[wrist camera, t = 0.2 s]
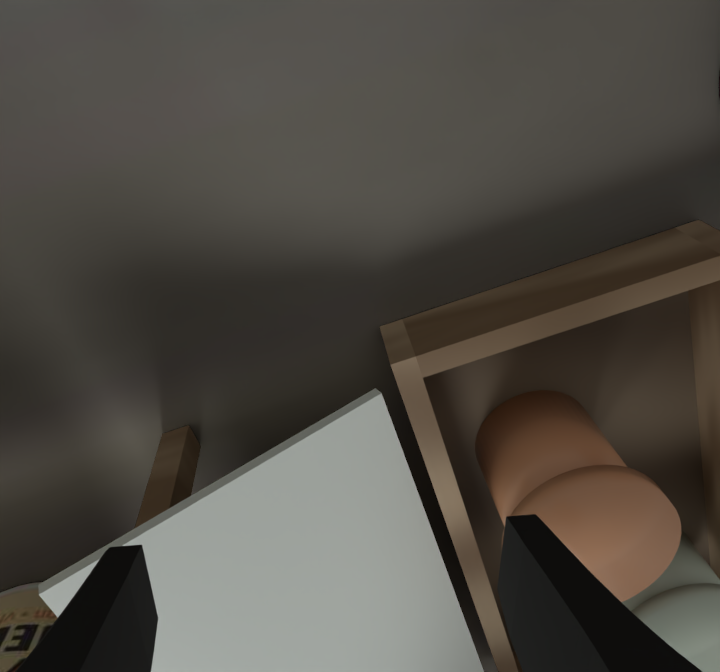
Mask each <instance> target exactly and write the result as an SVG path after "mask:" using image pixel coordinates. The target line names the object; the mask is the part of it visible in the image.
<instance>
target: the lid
mask: <svg viewBox="0 0 720 672" xmlns="http://www.w3.org/2000/svg"><path fill="white" fill-rule="evenodd" d="M130 545H142V547H143V551H144V556H145V560H146V565H147V570H148V574H149V579H150V583H151V588H152V592H153V597H154V601H155V606H156V611H157V615H158V624H157V631H156V639H155V647H154V654H153V661H152V668H151V672H484V670H483V668H482V665H481V662H480V659H479V657H478V654H477V651H476V649H475V646H474V643H473V640H472V638H471V635H470V632H469V629H468V627H467V624H466V621H465V619H464V616H463V613H462V610H461V608H460V605H459V602H458V600H457V597H456V594H455V591H454V589H453V586H452V583H451V581H450V578H449V575H448V572H447V570H446V567H445V564H444V562H443V559H442V556H441V553H440V551H439V548H438V545H437V543H436V540H435V537H434V534H433V532H432V529H431V526H430V524H429V521H428V518H427V515H426V513H425V510H424V507H423V504H422V502H421V499H420V496H419V494H418V491H417V488H416V485H415V483H414V480H413V477H412V475H411V472H410V469H409V466H408V464H407V461H406V458H405V456H404V453H403V450H402V447H401V445H400V442H399V439H398V437H397V434H396V431H395V428H394V426H393V423H392V420H391V418H390V415H389V412H388V409H387V407H386V404H385V401H384V399H383V396H382V393H381V392H379V391H378V390H377V389H376V388H375V389H373V390H371V391H370V392H368V393H366V394H364V395H363V396H361V397H359V398H358V399H356V400H354V401H352V402H351V403H349V404H347V405H346V406H344V407H342V408H340V409H339V410H337V411H335V412H334V413H332V414H330V415H328V416H327V417H325V418H323V419H322V420H320V421H318V422H316V423H315V424H313V425H311V426H310V427H308V428H306V429H304V430H303V431H301V432H299V433H298V434H296V435H294V436H292V437H291V438H289V439H287V440H286V441H284V442H282V443H280V444H279V445H277V446H275V447H274V448H272V449H270V450H268V451H267V452H265V453H263V454H262V455H260V456H258V457H256V458H255V459H253V460H251V461H250V462H248V463H246V464H244V465H243V466H241V467H239V468H238V469H236V470H234V471H232V472H231V473H229V474H227V475H226V476H224V477H222V478H221V479H219V480H217V481H215V482H214V483H212V484H210V485H209V486H207V487H205V488H203V489H202V490H200V491H198V492H197V493H195V494H193V495H191V496H190V497H188V498H186V499H185V500H183V501H181V502H179V503H178V504H176V505H174V506H173V507H171V508H169V509H167V510H166V511H164V512H162V513H161V514H159V515H157V516H155V517H154V518H152V519H150V520H149V521H147V522H145V523H143V524H142V525H140V526H138V527H137V528H135V529H133V530H131V531H130V532H128V533H126V534H125V535H123V536H121V537H119V538H118V539H116V540H114V541H113V542H111V543H109V544H107V545H106V546H104V547H102V548H101V549H99V550H97V551H95V552H94V553H92V554H90V555H89V556H87V557H85V558H83V559H82V560H80V561H78V562H77V563H75V564H73V565H71V566H70V567H68V568H66V569H65V570H63V571H61V572H59V573H58V574H56V575H54V576H53V577H51V578H49V579H47V580H46V581H44V582H42V583H41V584H39V585H38V588H39V596H40V597H41V598H42V599H43V600H44V602H45V603H46V604H47V605H48V606H49V608H50V609H51V610H52V611H53V612H54V614H55V615H56V616H57V617H59V615H60V614H61V613H62V612H63V610H64V609H65V608H66V606H67V605H68V603H69V602H70V601H71V599H72V598H73V597H74V595H75V594H76V592H77V591H78V590H79V588H80V587H81V585H82V584H83V583H84V581H85V580H86V578H87V577H88V576H89V574H90V573H91V571H92V570H93V568H94V567H95V565H96V564H97V563H98V561H99V560H100V558H101V557H102V555H103V554H104V553H105V551H106V550H107V549H108V548H109V547H117V546H130Z"/></svg>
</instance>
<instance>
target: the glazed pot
mask: <svg viewBox="0 0 720 672" xmlns="http://www.w3.org/2000/svg"><path fill="white" fill-rule="evenodd" d="M622 603H623V604H624V605H625V606H626V607H627V608H628V609H629V610H630V611H631V612H632V613H633V614H634V615H636V616H637V617H638V618H639V619H640V620H641V621H642V622H643V623H644V624H646V625H647V626H648V627H649V628H650V629H651V630H652V631H653V632H655V633H656V634H657V635H658V636H659V637H660V638H661V639H663V640H664V641H665V642H666V643H667V644H668V645H670V646H671V647H672V648H673V649H674V650H676V651H677V652H678V653H679V654H681V655H682V656H683V657H685V658H686V659H687V660H688V661H690V662H691V663H692V664H693V665H695V666H696V667H697V668H699V669H700V670H701V671H702V672H720V579H719V578H718V576H717V575H716V574H715V573H714V571H713V570H712V569H711V567H710V566H709V565H708V563H707V562H706V561H705V559H704V558H703V557H702V555H701V554H700V553H699V551H698V550H697V549H696V547H695V546H694V545H693V543H692V542H691V541H690V539H689V538H688V537H687V535H686V534H685V533H684V531H682V530H681V539H680V544H679V547H678V550H677V552H676V554H675V556H674V558H673V560H672V561H671V563H670V565H669V566H668V567H667V569H666V570H665V571H664V572H663V573H662V575H661V576H660V577H659V578H658V579H657V580H655V581H654V582H653V583H652V584H651V585H650V586H648V587H647V588H646V589H644V590H643V591H641V592H640V593H638V594H637V595H635V596H633V597H631V598H630V599H628V600H626V601H623V602H622Z"/></svg>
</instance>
